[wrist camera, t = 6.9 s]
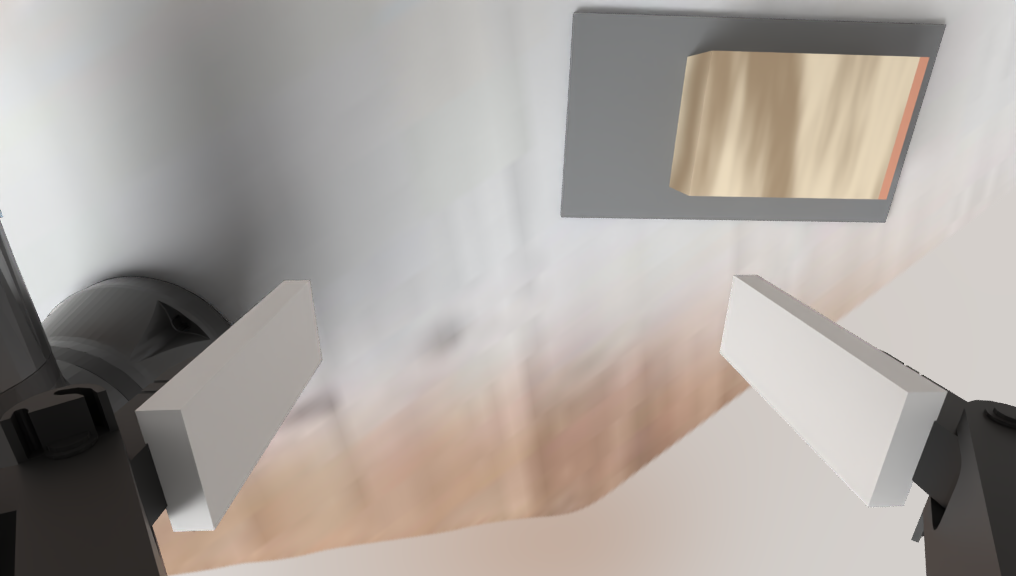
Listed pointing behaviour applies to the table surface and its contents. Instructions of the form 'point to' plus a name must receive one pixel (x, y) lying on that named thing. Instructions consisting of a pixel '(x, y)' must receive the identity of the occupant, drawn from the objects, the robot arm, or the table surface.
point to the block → (793, 124)
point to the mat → (657, 99)
